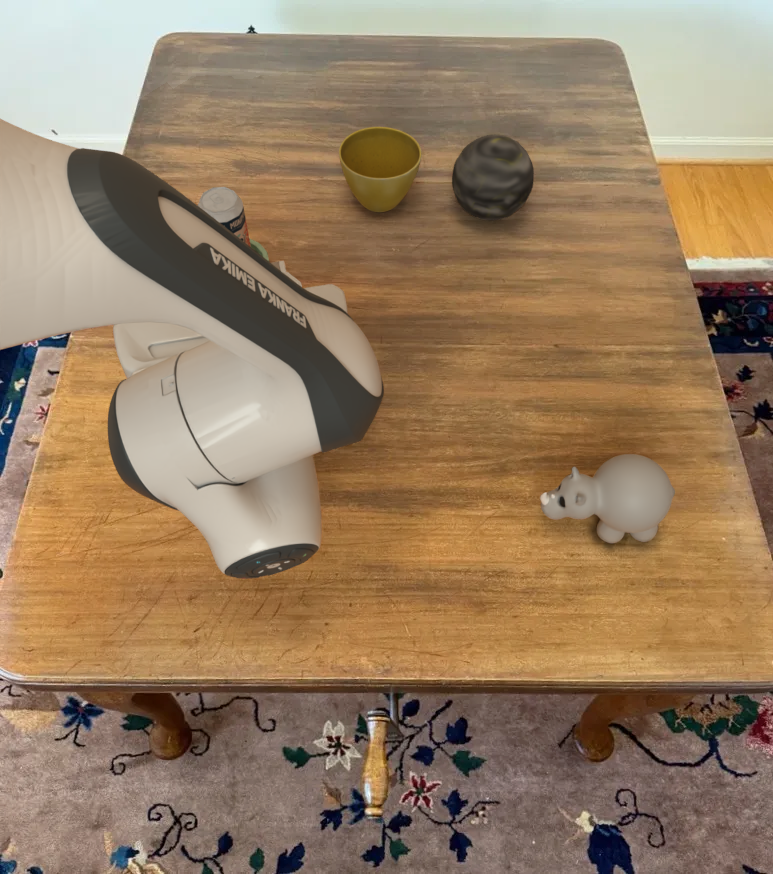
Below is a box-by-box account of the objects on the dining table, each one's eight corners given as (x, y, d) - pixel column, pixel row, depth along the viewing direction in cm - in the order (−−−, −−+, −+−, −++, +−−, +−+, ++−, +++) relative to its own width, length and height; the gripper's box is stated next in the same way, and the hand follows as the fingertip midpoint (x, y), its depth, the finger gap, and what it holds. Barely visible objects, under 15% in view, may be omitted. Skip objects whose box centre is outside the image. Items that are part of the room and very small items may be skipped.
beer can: (231, 302, 86) (212, 221, 75) (207, 279, 87) (186, 197, 77) (265, 282, 87) (250, 200, 77) (241, 260, 89) (224, 177, 79)
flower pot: (403, 167, 100) (405, 119, 94) (429, 216, 95) (433, 169, 88) (331, 182, 98) (328, 134, 92) (354, 233, 93) (352, 186, 87)
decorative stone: (539, 227, 94) (555, 160, 85) (466, 245, 92) (475, 178, 83) (506, 178, 99) (519, 110, 90) (436, 193, 97) (443, 125, 88)
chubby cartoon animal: (525, 485, 74) (542, 440, 67) (645, 484, 74) (674, 438, 67) (535, 552, 70) (553, 512, 63) (661, 550, 70) (693, 510, 63)
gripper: (367, 347, 61) (335, 232, 68) (110, 390, 58) (104, 264, 65) (367, 393, 66) (337, 281, 73) (131, 433, 63) (124, 313, 70)
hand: (226, 273), depth 69 cm, fingers open, 8 cm apart
